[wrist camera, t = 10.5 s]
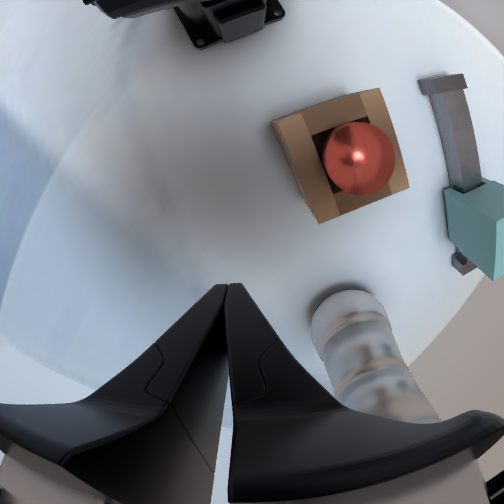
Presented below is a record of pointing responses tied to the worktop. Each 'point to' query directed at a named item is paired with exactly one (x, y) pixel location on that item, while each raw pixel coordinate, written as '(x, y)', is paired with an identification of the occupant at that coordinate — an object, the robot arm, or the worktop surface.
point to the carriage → (478, 225)
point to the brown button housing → (307, 159)
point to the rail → (455, 140)
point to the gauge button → (356, 157)
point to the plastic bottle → (366, 359)
